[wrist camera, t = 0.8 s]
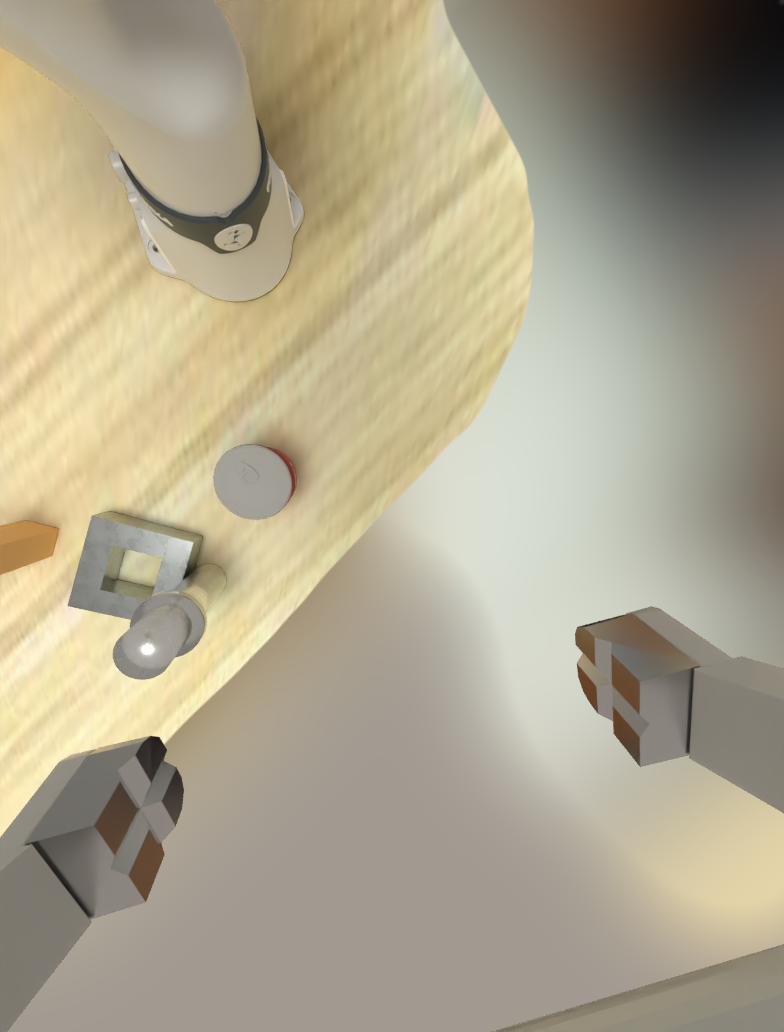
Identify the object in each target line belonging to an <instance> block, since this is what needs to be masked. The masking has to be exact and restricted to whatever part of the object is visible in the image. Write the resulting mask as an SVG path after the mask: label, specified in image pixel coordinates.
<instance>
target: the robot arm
mask: <svg viewBox="0 0 784 1032" xmlns="http://www.w3.org/2000/svg"><path fill="white" fill-rule="evenodd" d="M0 48H2V49H3V50H5V51H7V52H8V53H10V54H12V55H13V56H15V57H16V58H18V59H20V60H21V61H23V62H24V63H26V64H27V65H29V66H30V67H32V68H33V69H35V70H36V71H38V72H39V73H41V74H42V75H44V76H45V77H47V78H48V79H49V80H51V81H52V82H54V83H55V84H56V85H58V86H59V87H60V88H62V89H63V90H64V91H66V92H67V93H68V94H69V95H71V96H72V97H73V98H74V99H75V100H76V101H77V102H79V103H80V104H81V105H82V106H83V107H84V108H85V109H86V110H87V111H88V113H89V114H90V115H91V116H92V118H93V119H94V120H95V121H96V123H97V124H98V125H99V127H100V128H101V129H102V130H103V132H104V133H105V134H106V136H107V137H108V138H109V140H110V141H111V143H112V144H113V147H114V151H115V152H110V154H108V155H109V159H110V162H111V164H112V167H113V169H114V171H115V173H116V175H117V177H118V178H119V180H120V181H121V182H123V183H125V186H126V189H127V192H128V193H127V198H128V200H129V203H130V205H131V207H132V208H133V211H134V214H135V218H136V221H137V224H138V227H139V230H140V234H141V237H142V240H143V243H144V246H145V250H146V253H147V256H148V259H149V261H150V263H151V265H152V267H153V268H154V269H155V270H156V271H157V272H159V273H161V274H163V275H166V276H170V277H174V278H179V279H182V280H184V281H186V282H188V283H189V284H191V285H192V286H194V287H195V288H197V289H198V290H200V291H201V292H203V293H205V294H207V295H209V296H212V297H214V298H217V299H221V300H225V301H235V302H238V301H248V300H252V299H255V298H258V297H260V296H262V295H264V294H266V293H268V292H269V291H270V290H272V289H273V288H274V287H275V286H276V285H277V284H278V283H279V282H280V280H281V279H282V278H283V276H284V274H285V272H286V270H287V268H288V265H289V262H290V259H291V253H292V245H293V239H294V235H295V234H296V232H297V231H298V229H299V227H300V226H301V224H302V222H303V219H304V210H303V206H302V204H301V202H300V200H299V199H298V197H297V196H296V194H295V192H294V191H293V189H292V188H291V186H290V185H289V183H288V181H287V180H286V178H285V175H284V172H283V170H281V169H279V167H278V166H277V164H276V163H275V161H274V160H273V158H272V157H271V155H270V153H269V152H268V148H267V144H266V142H265V138H264V136H263V132H262V129H261V127H260V124H259V122H258V120H257V118H256V115H255V110H254V104H253V99H252V93H251V88H250V82H249V77H248V71H247V66H246V61H245V57H244V53H243V50H242V47H241V45H240V42H239V40H238V37H237V35H236V33H235V31H234V29H233V27H232V25H231V23H230V21H229V19H228V17H227V16H226V14H225V13H224V11H223V10H222V8H221V7H220V5H219V4H218V2H217V1H216V0H0ZM290 201H291V202H290ZM156 248H157V249H158V250H159V252H155V249H156ZM575 642H576V645H577V647H579V649H580V650H581V651H582V652H583V654H582V656H581V658H580V659H579V661H578V662H577V669H578V678H579V680H580V683H581V686H582V689H583V692H584V694H585V695H586V697H587V699H588V700H589V702H590V704H591V705H592V706H593V708H594V709H595V710H596V712H597V713H598V714H600V715H602V716H604V717H606V718H608V719H610V720H612V721H613V727H614V735H615V736H616V737H617V738H618V740H619V741H620V742H621V743H622V745H623V746H624V747H625V748H626V749H627V751H628V752H629V753H630V755H631V756H632V757H633V759H634V760H635V761H636V762H637V764H638V765H639V766H640V767H641V766H646V765H650V764H654V763H658V762H662V761H667V760H671V759H675V758H679V757H683V756H687V755H689V758H690V759H692V760H693V761H695V762H697V763H699V764H700V765H702V766H704V767H706V768H707V769H709V770H711V771H712V772H714V773H716V774H718V775H719V776H721V777H723V778H724V779H726V780H728V781H730V782H731V783H733V784H735V785H736V786H738V787H740V788H742V789H743V790H745V791H747V792H748V793H750V794H752V795H754V796H755V797H757V798H759V799H760V800H762V801H764V802H766V803H767V804H769V805H771V806H772V807H774V808H776V809H778V810H779V811H781V812H783V813H784V669H783V668H780V667H776V666H773V665H769V664H766V663H763V662H759V661H755V660H752V659H749V658H745V657H737V658H734V659H733V658H731V657H730V656H728V655H727V654H725V653H724V652H722V651H721V650H719V649H718V648H717V647H715V646H713V645H712V644H711V643H709V642H708V641H706V640H705V639H703V638H702V637H700V636H699V635H698V634H696V633H695V632H693V631H692V630H690V629H689V628H687V627H686V626H684V625H683V624H681V623H680V622H679V621H677V620H676V619H674V618H672V617H671V616H670V615H668V614H667V613H665V612H664V611H662V610H661V609H659V608H655V607H648V608H644V609H641V610H637V611H634V612H630V613H627V614H626V615H621V616H617V617H614V618H610V619H606V620H602V621H598V622H595V623H591V624H587V625H583V626H579V627H577V629H576V633H575ZM166 752H167V749H166V747H165V746H164V744H163V742H162V741H161V739H160V737H155V736H148V737H144V738H140V739H135V740H131V741H127V742H122V743H118V744H114V745H109V746H105V747H101V748H98V749H95V750H90V751H86V752H82V753H77V754H73V755H70V756H68V757H67V758H65V759H63V760H62V761H60V762H59V763H58V764H57V766H56V767H55V768H54V769H53V771H52V772H51V773H50V775H49V776H48V777H47V778H46V780H45V781H44V782H43V784H42V785H41V786H40V787H39V789H38V790H37V791H36V793H35V794H34V795H33V796H32V798H31V799H30V800H29V802H28V803H27V804H26V805H25V807H24V808H23V809H22V811H21V812H20V813H19V814H18V816H17V817H16V818H15V820H14V821H13V822H12V823H11V825H10V826H9V827H8V829H7V830H6V831H5V832H4V834H3V835H2V836H1V838H0V1032H7V1031H8V1030H9V1029H10V1027H11V1026H12V1025H13V1023H14V1022H15V1021H16V1020H17V1018H18V1017H19V1016H20V1014H21V1013H22V1012H23V1010H24V1009H25V1008H26V1007H27V1005H28V1004H29V1003H30V1001H31V1000H32V999H33V998H34V996H35V995H36V994H37V992H38V991H39V990H40V989H41V987H42V986H43V984H44V983H45V982H46V981H47V979H48V978H49V977H50V976H51V974H52V973H53V972H54V970H55V969H56V968H57V967H58V965H59V964H60V963H61V961H62V960H63V959H64V958H65V956H66V955H67V954H68V952H69V951H70V950H71V949H72V947H73V946H74V945H75V943H76V942H77V941H78V939H79V938H80V937H81V936H82V934H83V933H84V932H85V930H86V929H87V928H88V927H89V925H90V924H91V920H90V919H93V918H97V917H99V916H103V915H106V914H110V913H113V912H116V911H119V910H123V909H126V908H129V907H132V906H136V905H139V904H142V903H145V902H146V901H147V898H148V895H149V893H150V891H151V888H152V885H153V883H154V880H155V878H156V875H157V873H158V870H159V868H160V865H161V863H162V860H163V857H164V851H163V847H162V844H161V842H162V841H163V840H164V839H165V838H166V836H168V834H169V833H170V832H171V831H172V830H173V829H174V828H175V826H176V824H177V821H178V818H179V816H180V813H181V810H182V804H183V794H184V788H183V783H182V777H181V775H180V774H179V771H178V770H177V768H176V767H175V766H173V765H171V764H169V763H167V762H165V761H164V758H165V755H166ZM493 1032H784V944H783V945H780V946H776V947H773V948H770V949H766V950H763V951H760V952H756V953H753V954H750V955H746V956H743V957H740V958H736V959H733V960H730V961H726V962H723V963H720V964H716V965H713V966H709V967H706V968H703V969H700V970H696V971H693V972H689V973H686V974H683V975H680V976H676V977H673V978H670V979H666V980H663V981H660V982H656V983H653V984H649V985H646V986H643V987H640V988H636V989H633V990H630V991H626V992H623V993H620V994H616V995H613V996H609V997H606V998H603V999H599V1000H596V1001H593V1002H589V1003H586V1004H583V1005H580V1006H576V1007H573V1008H569V1009H566V1010H563V1011H560V1012H557V1013H553V1014H549V1015H546V1016H543V1017H539V1018H536V1019H533V1020H529V1021H527V1022H523V1023H519V1024H517V1025H513V1026H510V1027H506V1028H503V1029H499V1030H496V1031H493Z"/></svg>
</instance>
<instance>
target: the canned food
mask: <svg viewBox="0 0 784 1032" xmlns="http://www.w3.org/2000/svg"><path fill="white" fill-rule="evenodd" d="M214 487H215V491H216V493H217V496H218V498H219V499H220V501H221V502H222V504H223V505H224V506H225V507H226V508H227V509H228V510H229V511H231V512H232V513H234V514H236V515H238V516H240V517H242V518H247V519H254V520H259V519H265V518H268V517H271V516H273V515H275V514H277V513H278V512H280V511H281V510H282V509H283V508H284V507H285V505H286V504H287V503H288V501H289V500H290V498H291V496H292V495H293V493H294V490H295V487H296V473H295V470H294V467H293V465H292V463H291V462H290V460H289V459H288V458H287V457H286V456H285V455H283V454H282V453H281V452H279V451H277V450H275V449H272V448H268V447H264V446H261V445H253V444H247V445H240V446H237V447H234V448H233V449H231V450H229V451H227V452H226V453H225V454H224V455H223V456H222V457H221V458H220V460H219V461H218V463H217V465H216V468H215V471H214Z"/></svg>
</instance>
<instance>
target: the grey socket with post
mask: <svg viewBox="0 0 784 1032" xmlns="http://www.w3.org/2000/svg"><path fill="white" fill-rule="evenodd" d="M202 538H203V536H201V535H197V534H193V533H190V532H186V531H182V530H179V529H175V528H171V527H167V526H164V525H160V524H156V523H153V522H149V521H145V520H142V519H138V518H134V517H130V516H127V515H123V514H119V513H116V512H112V511H108V512H104V513H100V514H97V515H93V516H92V517H91V521H90V525H89V529H88V532H87V536H86V540H85V543H84V547H83V551H82V555H81V558H80V562H79V566H78V569H77V573H76V577H75V581H74V584H73V588H72V592H71V595H70V599H69V603H68V606H70V607H75V608H79V609H84V610H89V611H93V612H98V613H103V614H107V615H112V616H117V617H121V618H126V619H130V620H131V623H130V629H129V630H128V631H127V632H126V633H125V634H124V635H123V636H121V637H120V638H119V640H118V641H117V642H116V644H115V646H114V649H113V660H114V663H115V665H116V667H117V668H118V669H119V670H120V671H121V672H122V673H123V674H125V675H126V676H128V677H131V678H134V679H150V678H153V677H156V676H158V675H160V674H161V673H163V672H164V671H165V670H166V669H167V667H168V666H169V665H170V663H171V662H172V661H173V659H174V658H175V657H179V656H182V655H184V654H186V653H188V652H189V651H191V650H192V649H193V648H194V647H195V646H196V645H197V644H198V642H199V641H200V639H201V638H202V636H203V634H204V632H205V630H206V626H207V616H206V613H207V612H208V610H209V609H210V607H211V606H212V605H213V603H214V602H215V600H216V599H217V598H218V596H219V595H220V593H221V592H222V591H223V589H224V588H225V586H226V581H227V579H226V575H225V573H224V571H223V570H222V569H221V568H220V567H218V566H216V565H213V564H204V565H201V566H199V567H197V568H196V569H195V570H194V571H193V568H194V565H195V562H196V558H197V555H198V551H199V548H200V545H201V541H202ZM125 549H129V550H133V551H137V552H141V553H145V554H149V555H153V556H157V557H161V558H163V559H162V563H161V566H160V570H159V573H158V577H157V580H156V584H155V587H154V588H152V587H147V586H143V585H139V584H135V583H130V582H126V581H122V580H118V579H117V578H118V574H119V571H120V567H121V563H122V560H123V556H124V553H125Z"/></svg>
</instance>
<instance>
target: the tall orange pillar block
mask: <svg viewBox="0 0 784 1032" xmlns="http://www.w3.org/2000/svg"><path fill="white" fill-rule="evenodd" d="M58 531H59V529H58V528H54V527H50V526H47V525H43V524H39V523H35V522H31V521H27V520H26V521H21V522H16V523H12V524H7V525H2V526H0V575H1V574H4V573H7V572H10V571H12V570H15V569H18V568H20V567H23V566H26V565H29V564H31V563H34V562H37V561H39V560H42V559H45V558H48V557H50V556H52V554H53V550H54V547H55V543H56V539H57V535H58Z"/></svg>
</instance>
